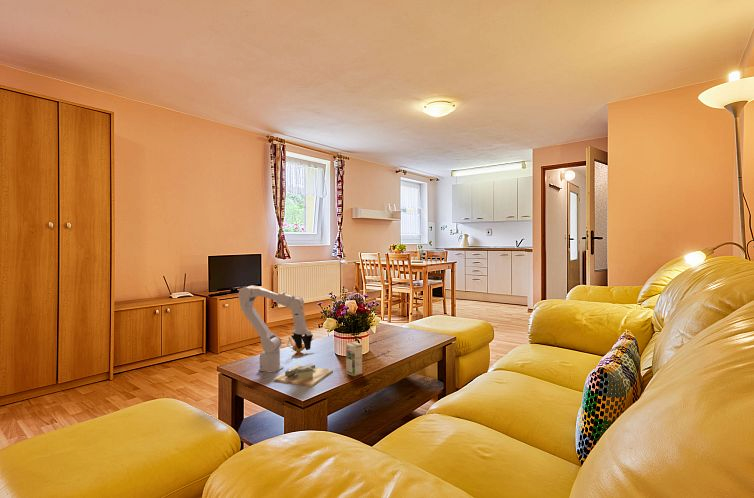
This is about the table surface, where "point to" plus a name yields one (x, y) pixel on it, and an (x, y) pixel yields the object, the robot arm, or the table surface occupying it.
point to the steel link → (294, 371)
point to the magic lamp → (297, 348)
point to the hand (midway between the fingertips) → (304, 349)
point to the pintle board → (317, 376)
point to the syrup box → (353, 358)
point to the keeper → (305, 372)
